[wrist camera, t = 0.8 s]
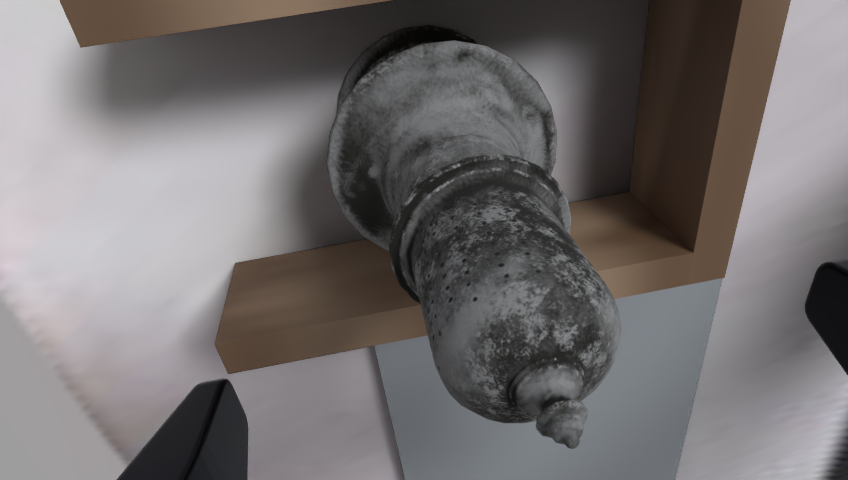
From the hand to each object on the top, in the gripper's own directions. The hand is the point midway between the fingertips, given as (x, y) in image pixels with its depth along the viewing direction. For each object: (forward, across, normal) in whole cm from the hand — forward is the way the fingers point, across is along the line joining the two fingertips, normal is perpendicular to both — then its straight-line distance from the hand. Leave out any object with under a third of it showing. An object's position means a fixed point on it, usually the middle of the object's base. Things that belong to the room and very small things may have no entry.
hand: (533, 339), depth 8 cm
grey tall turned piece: (+10, 0, 0) cm, 10 cm away
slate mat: (+10, -4, +15) cm, 18 cm away
